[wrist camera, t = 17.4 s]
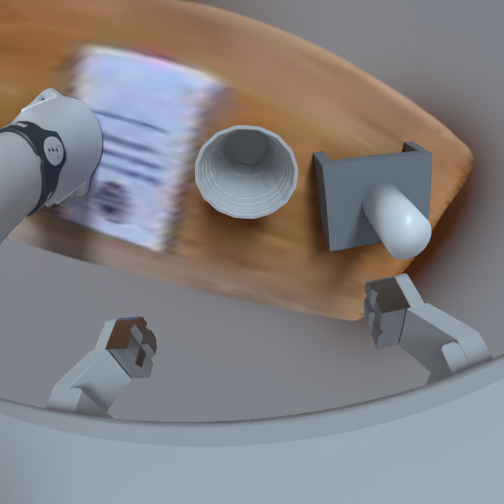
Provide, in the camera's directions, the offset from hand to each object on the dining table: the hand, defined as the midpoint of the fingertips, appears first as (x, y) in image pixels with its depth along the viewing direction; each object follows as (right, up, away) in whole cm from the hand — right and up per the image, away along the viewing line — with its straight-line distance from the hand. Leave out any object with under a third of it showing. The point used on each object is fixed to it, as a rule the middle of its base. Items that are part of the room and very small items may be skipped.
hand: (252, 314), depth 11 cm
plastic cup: (-1, +17, +30) cm, 34 cm away
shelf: (+18, +12, +33) cm, 39 cm away
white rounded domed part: (+18, +9, +28) cm, 34 cm away
